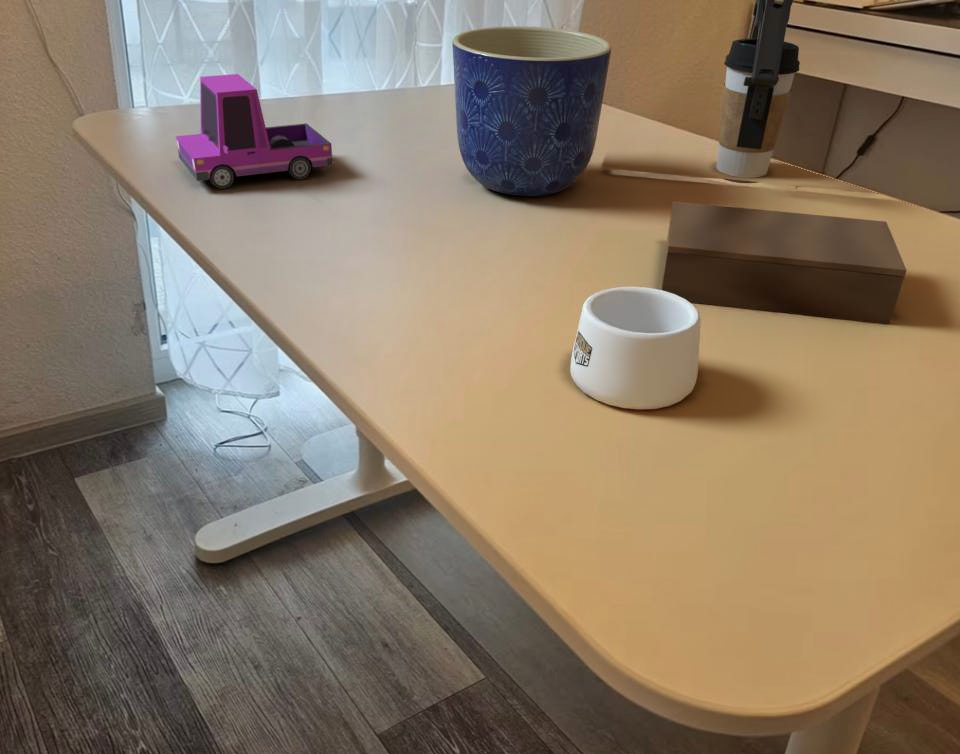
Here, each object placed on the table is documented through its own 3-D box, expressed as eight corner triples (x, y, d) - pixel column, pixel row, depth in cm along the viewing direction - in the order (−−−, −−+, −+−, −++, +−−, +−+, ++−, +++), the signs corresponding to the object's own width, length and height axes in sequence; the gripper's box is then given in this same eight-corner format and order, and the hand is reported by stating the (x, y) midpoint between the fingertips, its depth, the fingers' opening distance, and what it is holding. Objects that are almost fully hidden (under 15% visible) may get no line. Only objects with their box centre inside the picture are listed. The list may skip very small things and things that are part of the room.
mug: (716, 406, 71) (732, 332, 67) (595, 420, 69) (604, 345, 65) (651, 334, 80) (662, 266, 76) (543, 345, 78) (548, 275, 74)
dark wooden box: (871, 271, 93) (886, 221, 90) (889, 324, 83) (907, 270, 80) (665, 250, 95) (672, 201, 92) (660, 299, 86) (668, 245, 83)
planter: (621, 202, 106) (639, 55, 97) (478, 216, 102) (483, 61, 92) (562, 158, 119) (572, 23, 110) (432, 167, 114) (432, 28, 105)
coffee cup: (699, 180, 114) (721, 43, 105) (713, 161, 120) (735, 30, 111) (769, 191, 111) (799, 51, 102) (780, 171, 117) (809, 38, 108)
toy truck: (179, 167, 112) (164, 75, 106) (306, 152, 117) (299, 65, 111) (201, 195, 104) (187, 99, 98) (336, 179, 110) (330, 87, 104)
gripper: (749, -92, 110) (715, 101, 123) (757, -69, 90) (715, 158, 103) (816, -87, 109) (774, 107, 122) (838, -63, 89) (785, 165, 102)
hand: (747, 131), depth 113 cm, fingers open, 13 cm apart
